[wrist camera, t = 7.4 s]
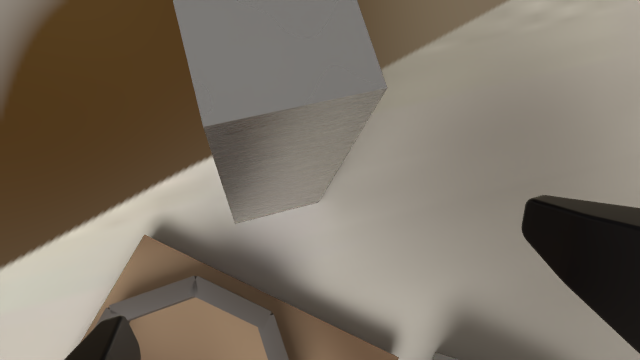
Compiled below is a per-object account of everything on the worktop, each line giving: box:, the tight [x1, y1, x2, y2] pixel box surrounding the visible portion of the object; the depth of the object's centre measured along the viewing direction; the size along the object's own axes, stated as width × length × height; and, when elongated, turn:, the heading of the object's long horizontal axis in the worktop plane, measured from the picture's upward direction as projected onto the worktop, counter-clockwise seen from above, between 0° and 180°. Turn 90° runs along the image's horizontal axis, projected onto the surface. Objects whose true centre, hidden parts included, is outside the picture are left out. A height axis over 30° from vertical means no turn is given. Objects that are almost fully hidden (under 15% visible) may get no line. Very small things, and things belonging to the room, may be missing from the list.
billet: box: [173, 0, 387, 224], centre depth 17 cm, size 4×4×13 cm
